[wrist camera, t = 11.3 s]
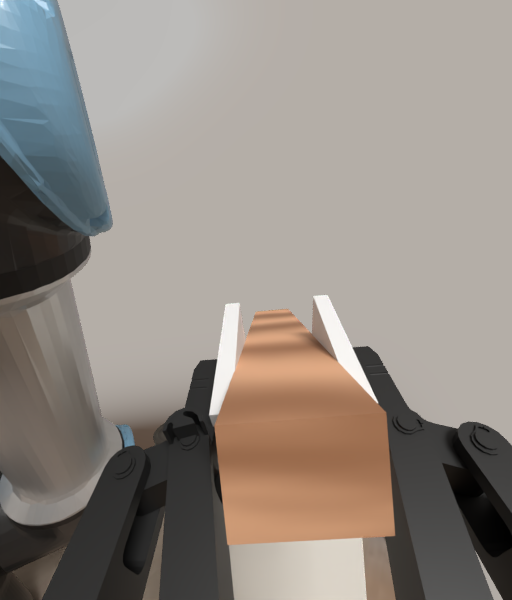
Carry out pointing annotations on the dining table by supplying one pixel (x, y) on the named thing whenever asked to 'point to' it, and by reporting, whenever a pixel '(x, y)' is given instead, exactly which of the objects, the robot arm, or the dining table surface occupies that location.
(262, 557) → the pedestal
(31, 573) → the dining table surface
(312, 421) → the bar
